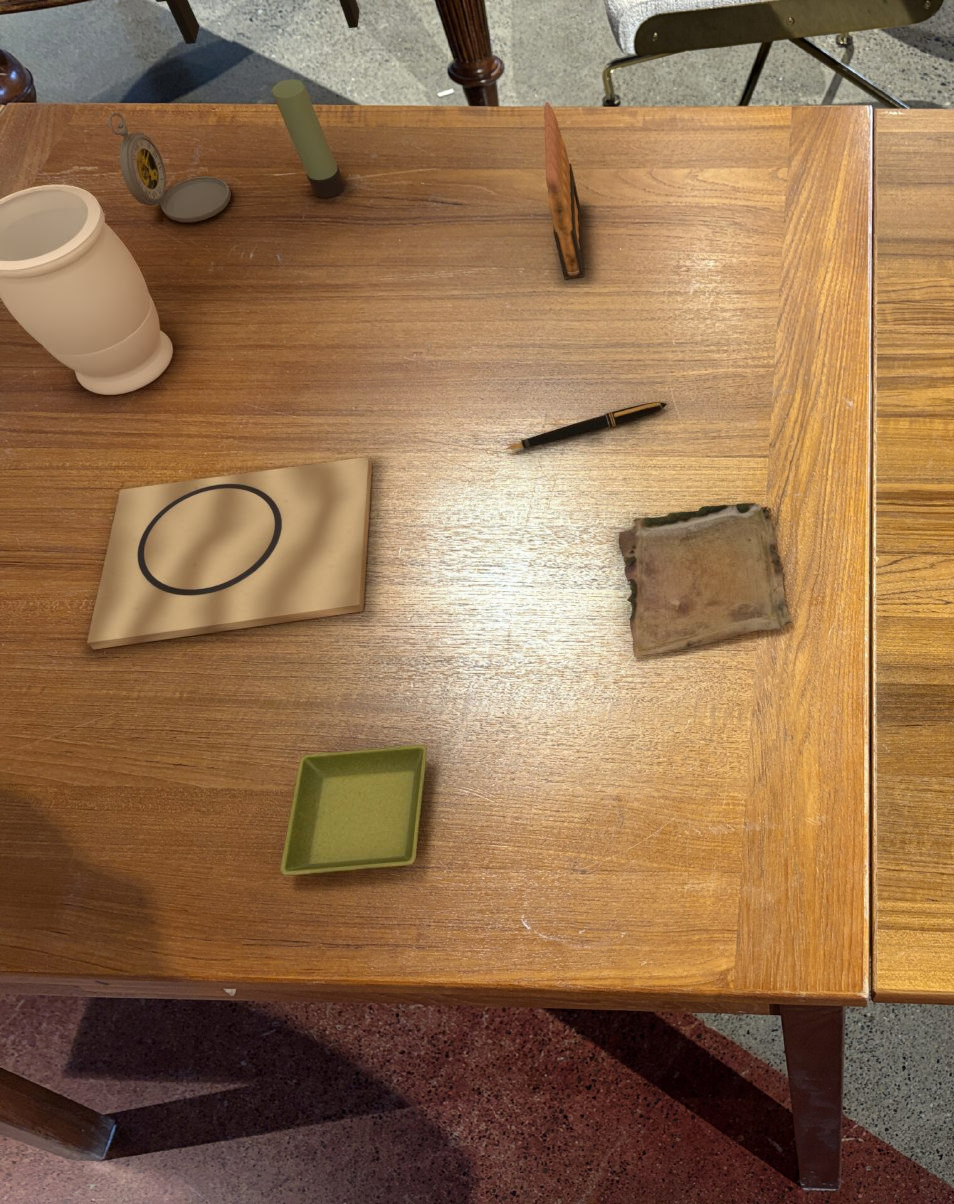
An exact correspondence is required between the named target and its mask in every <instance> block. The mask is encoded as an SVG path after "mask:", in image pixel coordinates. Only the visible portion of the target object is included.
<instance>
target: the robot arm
mask: <svg viewBox="0 0 954 1204" xmlns="http://www.w3.org/2000/svg"><path fill="white" fill-rule="evenodd" d="M155 2H156V3H162V2H166V4H167V7H168V8H169V11H170V13H171V15H172V17H173V20H174V22H175V23H176V25H177V27H178V30H179V32H180V34H181V36H182V38H183V40H184V42H185V45H192V44H196V42H197V40H198V39H197V38H198V36H199V35H198V34H199V31H200V27H201V26H200V24H199V20H198V19H197V18H196V15H195V13H194V11H193V8H192V6H191V4H190V1H189V0H155ZM338 2H339V4H340V6H341V10H342V12H343V15H344V19H345V21H346V24H347V27H348V29H355V28H359V20H360V13H361V12H360V7H359V5H358V2H357V0H338Z"/></svg>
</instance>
